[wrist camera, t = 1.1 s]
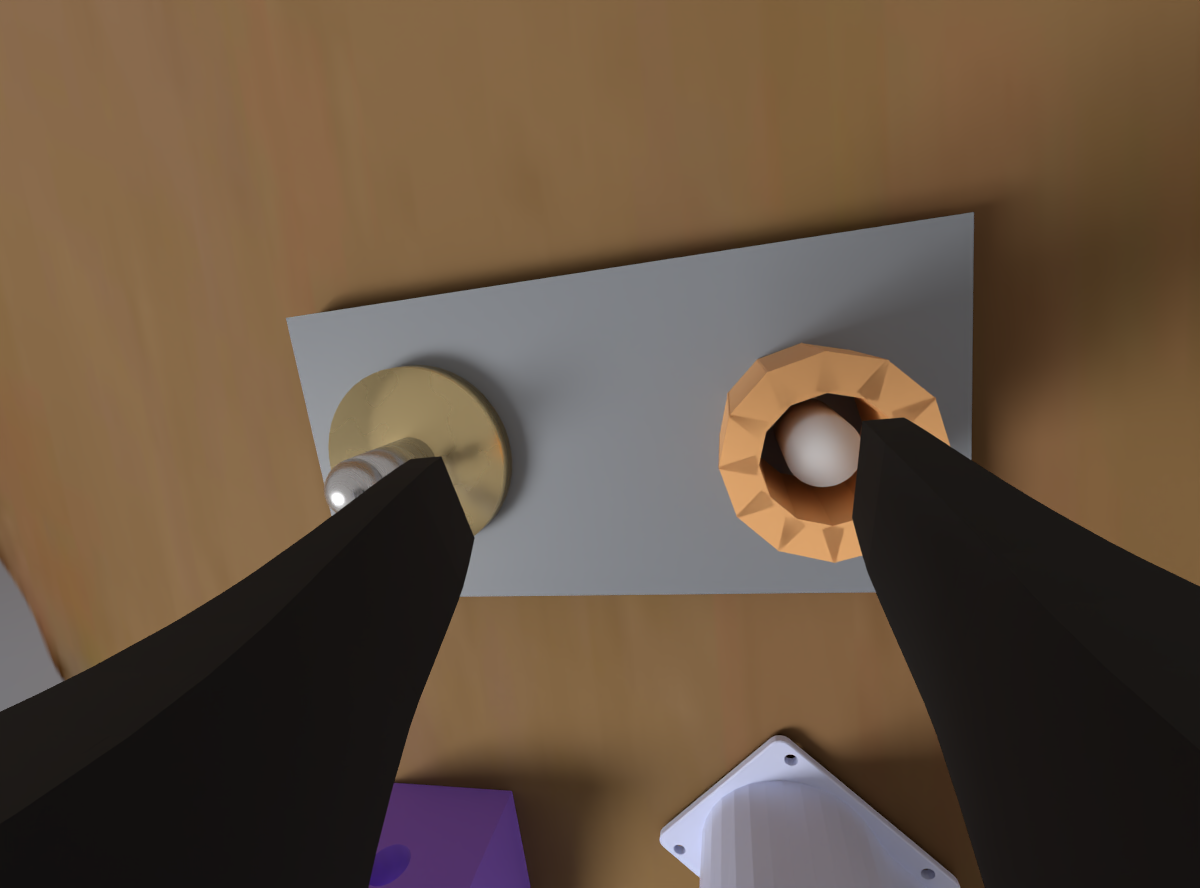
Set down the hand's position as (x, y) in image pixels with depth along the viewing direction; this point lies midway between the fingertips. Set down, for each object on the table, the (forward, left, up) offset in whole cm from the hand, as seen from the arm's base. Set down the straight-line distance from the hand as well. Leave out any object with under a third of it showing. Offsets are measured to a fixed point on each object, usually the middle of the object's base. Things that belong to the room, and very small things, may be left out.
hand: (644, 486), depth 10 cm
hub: (+6, +8, -10) cm, 14 cm away
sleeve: (-4, -2, -10) cm, 11 cm away
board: (+1, +3, -11) cm, 12 cm away
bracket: (-8, +27, -12) cm, 30 cm away
